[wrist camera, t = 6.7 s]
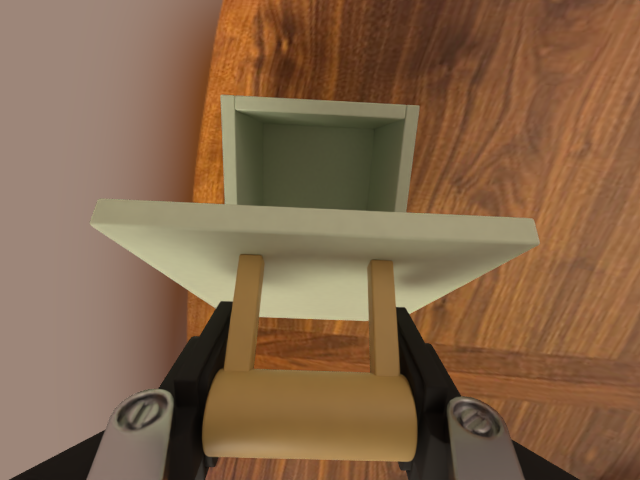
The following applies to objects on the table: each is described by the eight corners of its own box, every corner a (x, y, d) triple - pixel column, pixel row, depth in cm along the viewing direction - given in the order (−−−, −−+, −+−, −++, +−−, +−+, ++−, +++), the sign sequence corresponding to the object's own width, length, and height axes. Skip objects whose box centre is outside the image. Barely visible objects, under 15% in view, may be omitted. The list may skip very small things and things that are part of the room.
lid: (96, 196, 8) (-4, 479, 6) (534, 216, 8) (608, 493, 6) (227, 304, 21) (213, 401, 19) (394, 310, 22) (400, 407, 19)
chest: (255, 114, 28) (220, 94, 18) (382, 121, 28) (420, 105, 18) (257, 255, 32) (228, 306, 22) (368, 260, 32) (393, 312, 22)
